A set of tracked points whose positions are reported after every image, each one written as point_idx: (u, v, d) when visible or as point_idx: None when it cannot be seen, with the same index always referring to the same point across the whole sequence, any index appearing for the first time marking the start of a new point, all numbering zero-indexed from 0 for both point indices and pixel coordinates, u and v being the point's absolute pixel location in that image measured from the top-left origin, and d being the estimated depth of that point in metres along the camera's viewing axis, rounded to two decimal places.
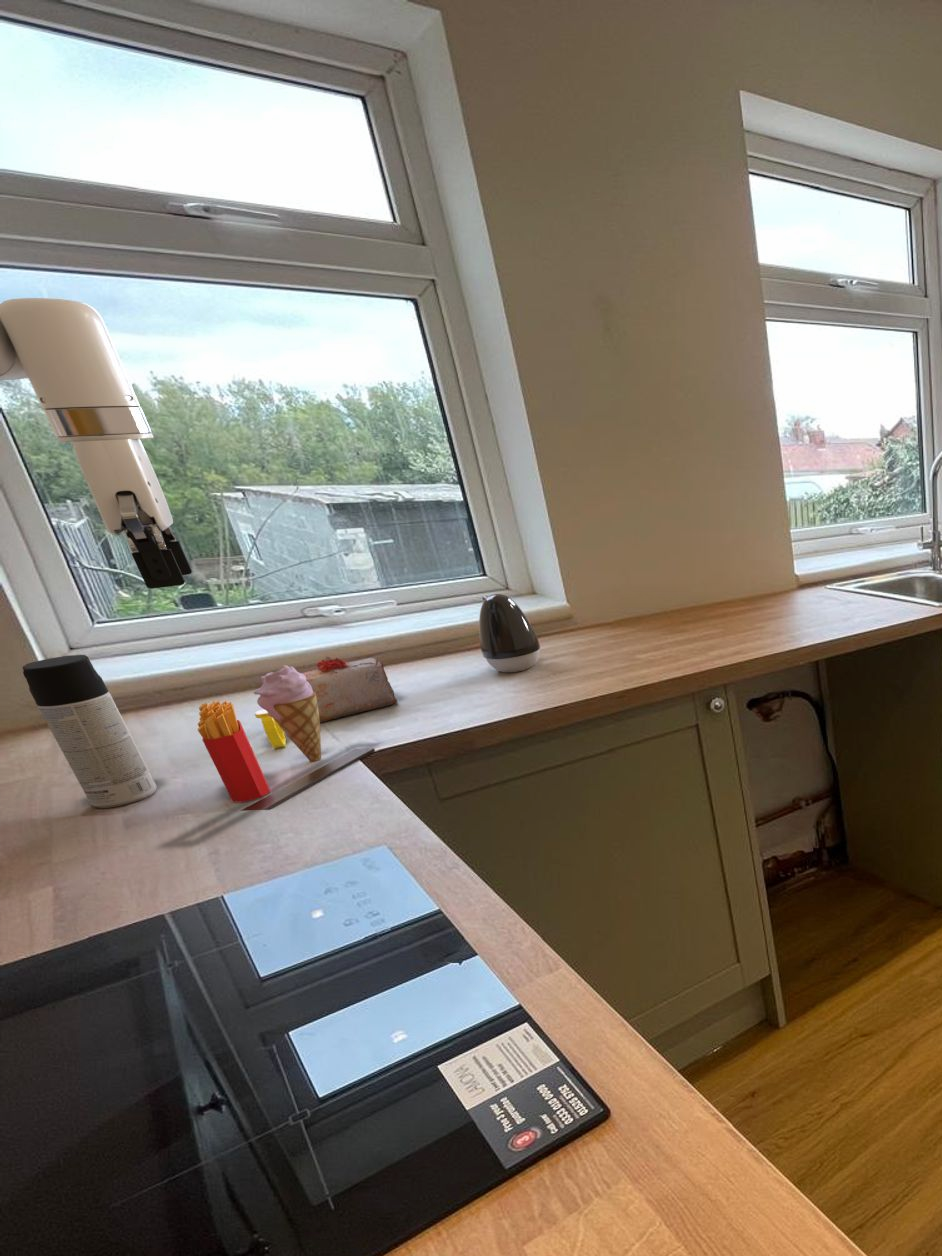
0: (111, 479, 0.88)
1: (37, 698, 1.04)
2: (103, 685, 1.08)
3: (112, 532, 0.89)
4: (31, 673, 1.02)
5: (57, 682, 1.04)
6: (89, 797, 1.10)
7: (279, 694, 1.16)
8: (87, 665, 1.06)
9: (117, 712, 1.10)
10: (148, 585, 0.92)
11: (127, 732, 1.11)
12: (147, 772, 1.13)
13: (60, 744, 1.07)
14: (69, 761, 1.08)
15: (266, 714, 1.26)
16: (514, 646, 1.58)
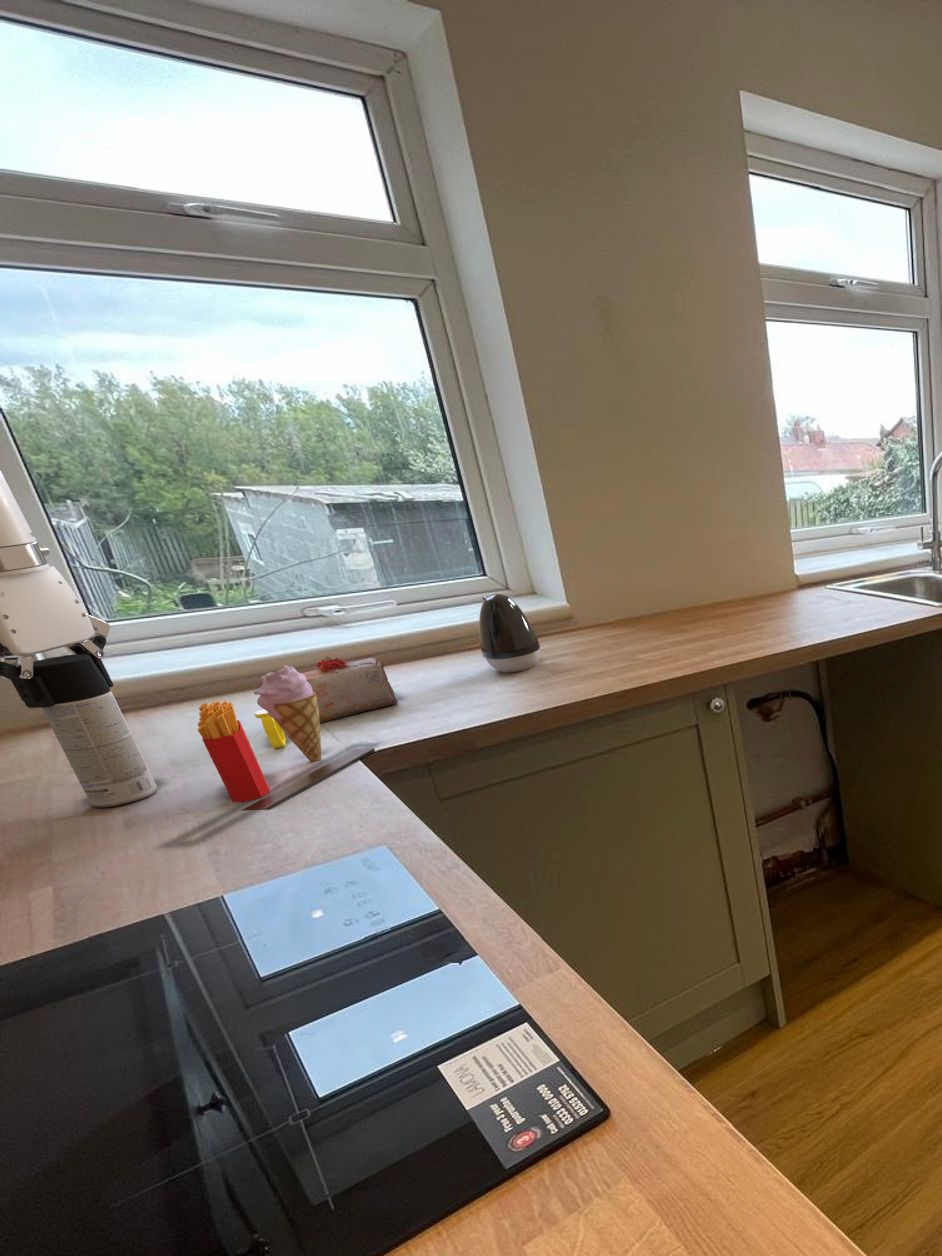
0: None
1: None
2: (105, 684, 1.09)
3: None
4: (34, 671, 1.03)
5: (59, 680, 1.04)
6: (89, 796, 1.10)
7: (279, 694, 1.16)
8: (90, 664, 1.06)
9: (119, 711, 1.10)
10: (27, 705, 1.04)
11: (128, 731, 1.11)
12: (147, 772, 1.13)
13: (61, 742, 1.07)
14: (70, 760, 1.08)
15: (266, 714, 1.26)
16: (514, 646, 1.58)
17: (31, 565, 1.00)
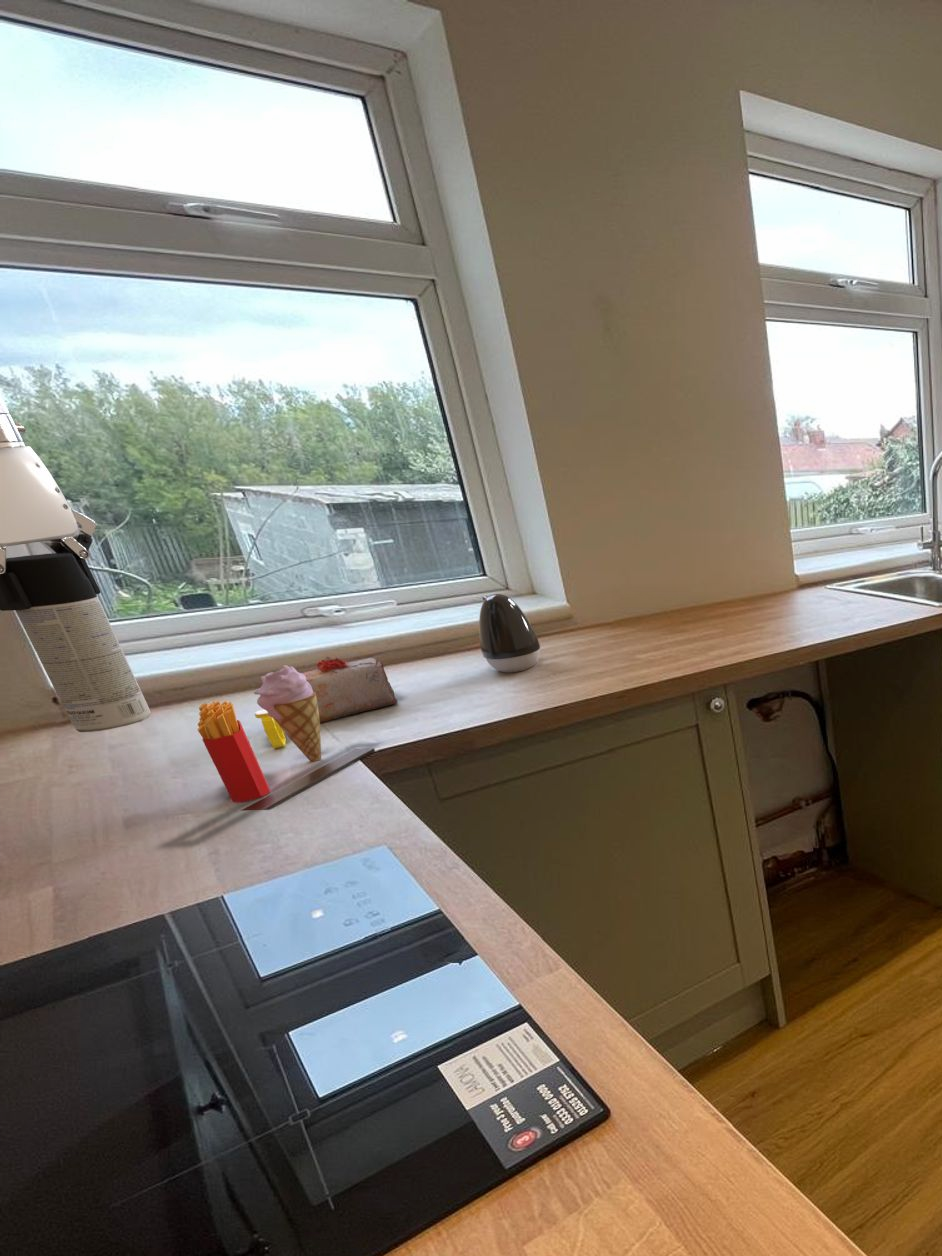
0: None
1: None
2: (91, 588, 0.94)
3: None
4: (7, 567, 0.88)
5: (37, 578, 0.89)
6: (72, 719, 0.95)
7: (279, 694, 1.16)
8: (73, 562, 0.92)
9: (107, 621, 0.95)
10: None
11: (118, 645, 0.96)
12: (140, 693, 0.99)
13: (39, 654, 0.92)
14: (49, 675, 0.93)
15: (266, 714, 1.26)
16: (514, 646, 1.58)
17: (3, 439, 0.86)
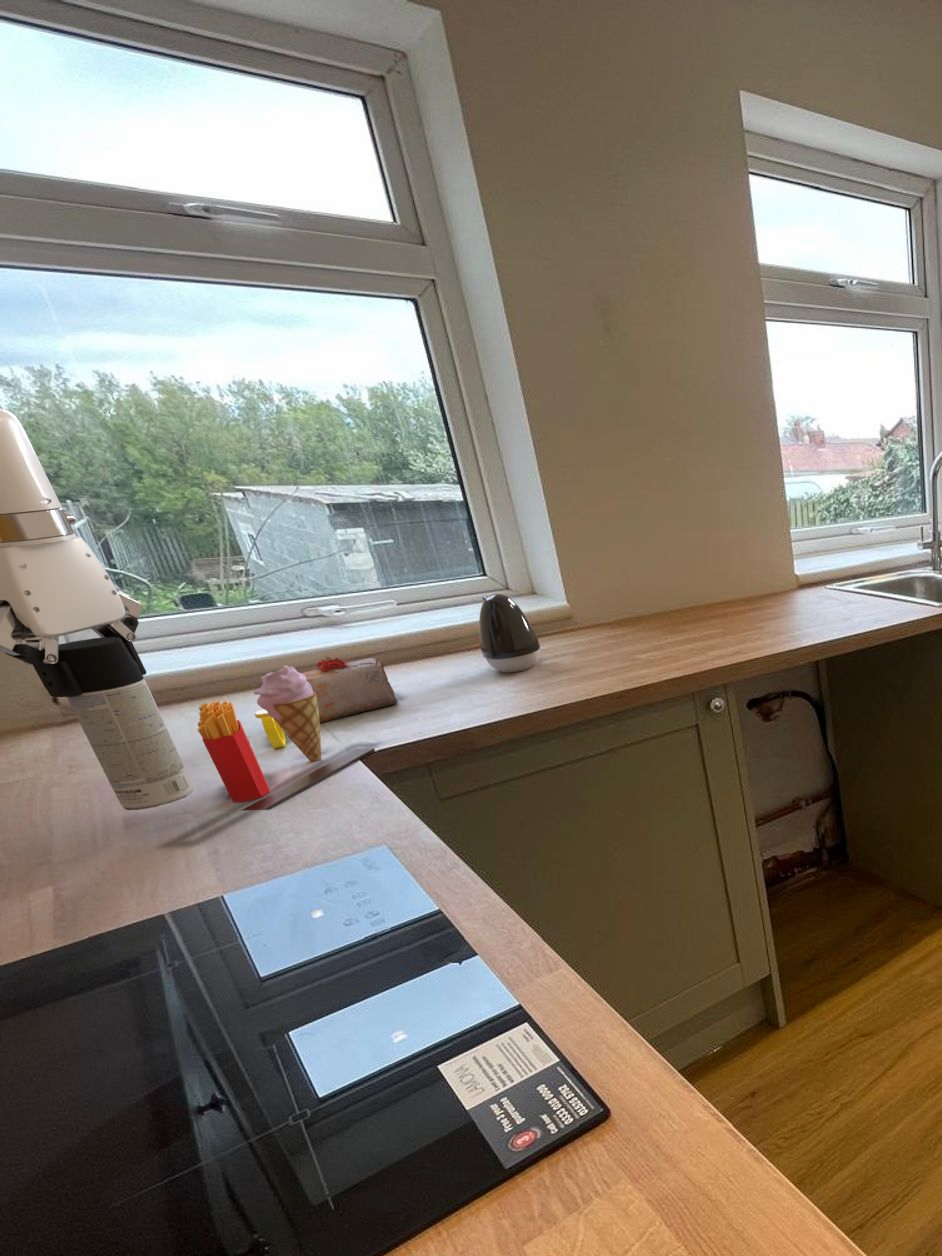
0: None
1: None
2: (138, 671, 0.96)
3: None
4: (60, 656, 0.90)
5: (87, 665, 0.91)
6: (119, 797, 0.97)
7: (279, 694, 1.16)
8: (121, 648, 0.94)
9: (153, 702, 0.98)
10: (51, 694, 0.91)
11: (163, 724, 0.99)
12: (184, 770, 1.01)
13: (89, 737, 0.94)
14: (98, 756, 0.95)
15: (266, 714, 1.26)
16: (514, 646, 1.58)
17: (56, 534, 0.88)
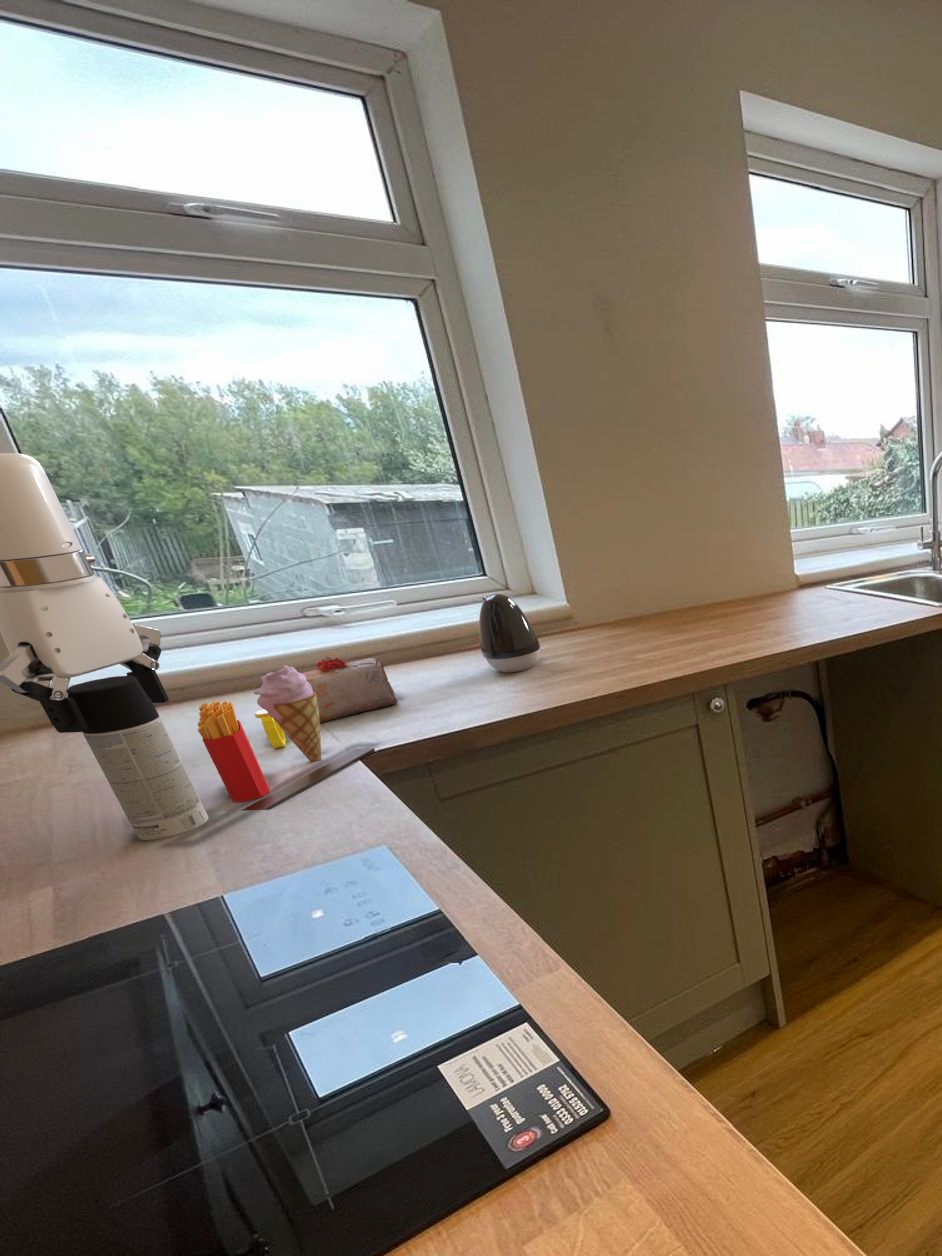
0: (13, 630, 0.87)
1: None
2: (154, 709, 0.98)
3: None
4: (77, 697, 0.92)
5: (104, 706, 0.93)
6: (138, 833, 0.99)
7: (279, 694, 1.16)
8: (137, 687, 0.95)
9: (168, 738, 0.99)
10: (57, 729, 0.92)
11: (179, 760, 1.00)
12: (200, 804, 1.03)
13: (107, 775, 0.96)
14: (116, 793, 0.97)
15: (266, 714, 1.26)
16: (514, 646, 1.58)
17: (77, 576, 0.90)
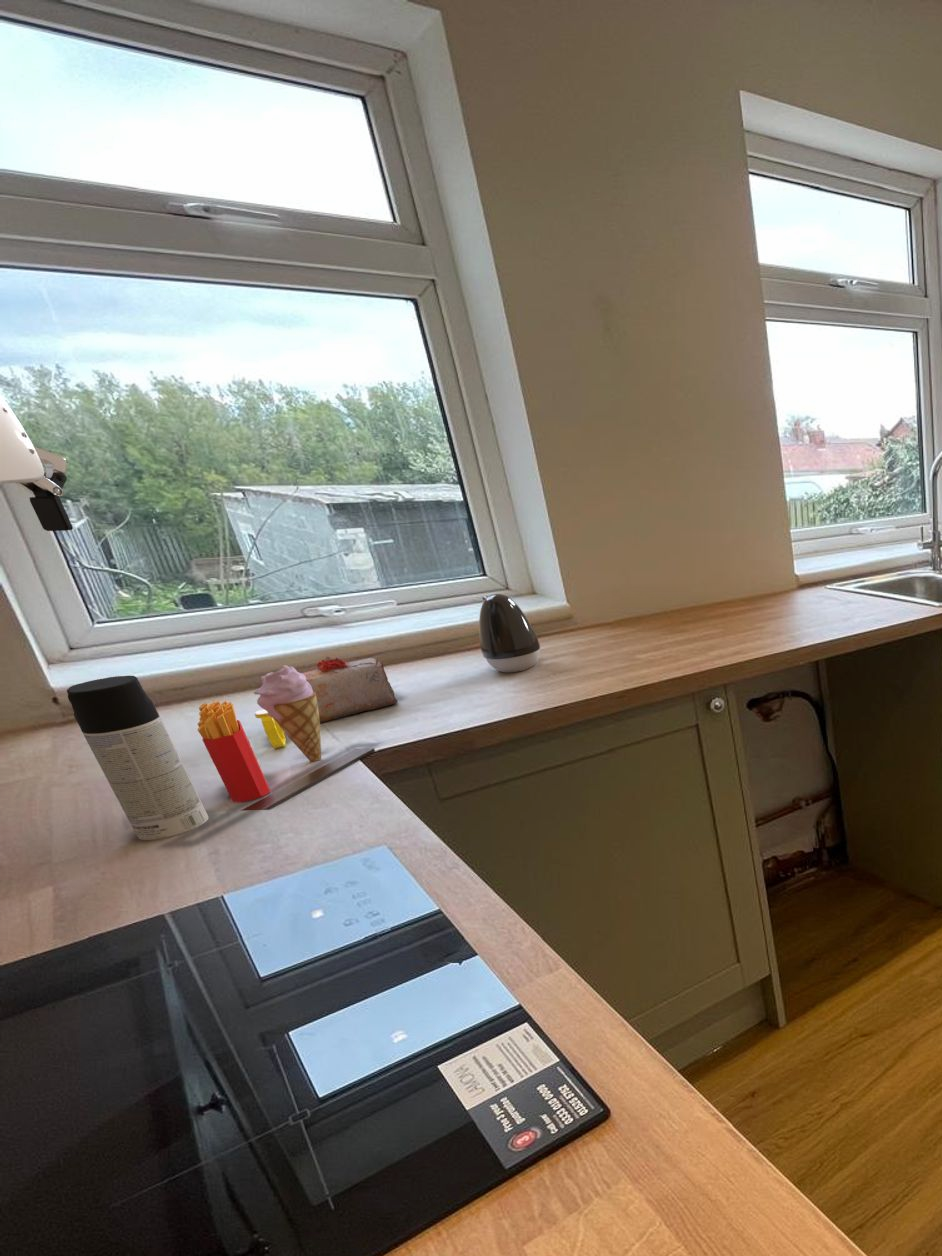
0: None
1: (83, 724, 0.93)
2: (154, 709, 0.98)
3: None
4: (77, 698, 0.92)
5: (105, 706, 0.93)
6: (138, 833, 0.99)
7: (279, 694, 1.16)
8: (137, 687, 0.95)
9: (168, 738, 0.99)
10: None
11: (179, 760, 1.00)
12: (200, 804, 1.03)
13: (107, 775, 0.96)
14: (116, 793, 0.97)
15: (266, 714, 1.26)
16: (514, 646, 1.58)
17: None
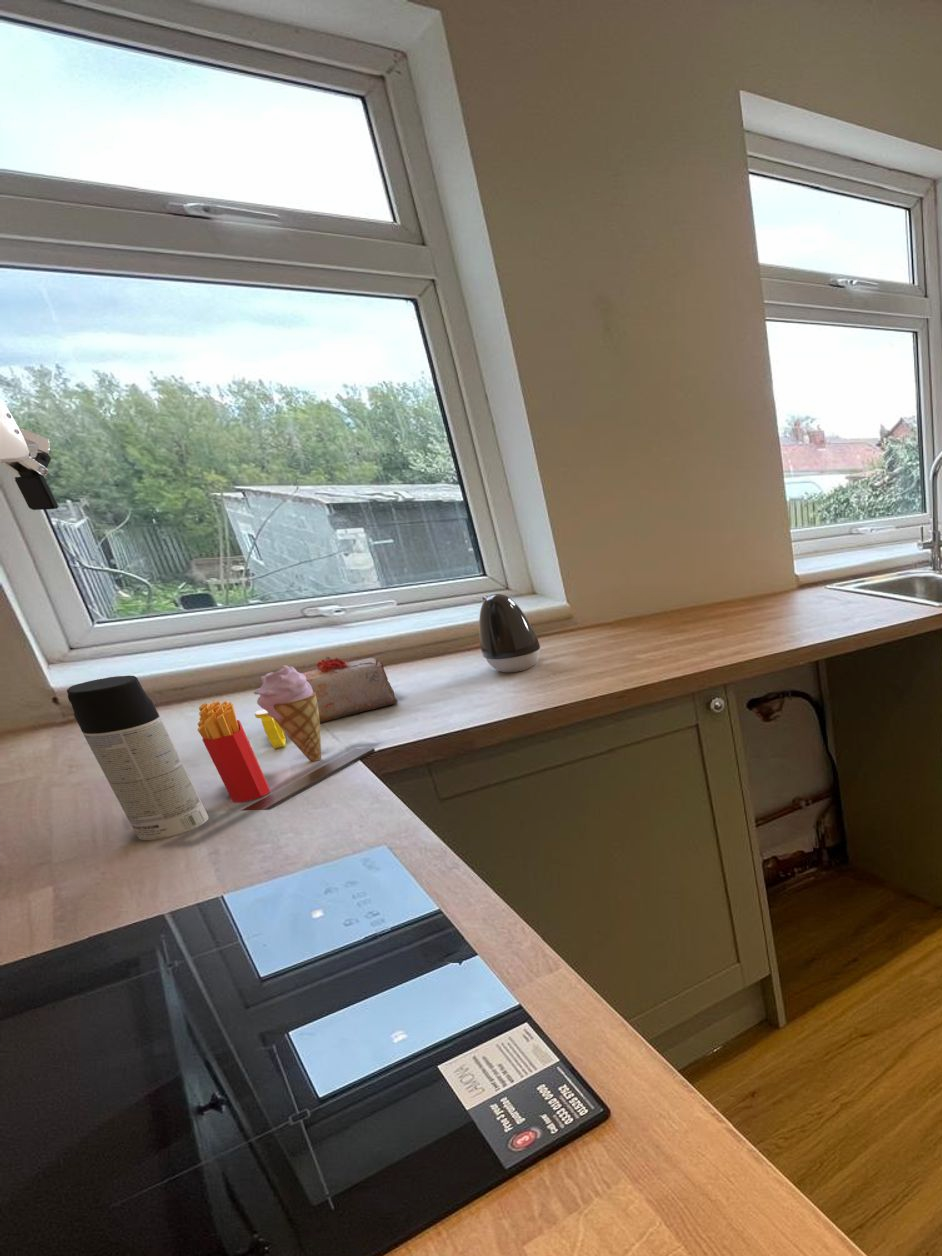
0: None
1: (83, 724, 0.93)
2: (154, 709, 0.98)
3: None
4: (77, 697, 0.92)
5: (105, 706, 0.93)
6: (138, 833, 0.99)
7: (279, 694, 1.16)
8: (137, 687, 0.95)
9: (168, 738, 0.99)
10: None
11: (179, 760, 1.00)
12: (200, 804, 1.03)
13: (107, 775, 0.96)
14: (116, 793, 0.97)
15: (266, 714, 1.26)
16: (514, 646, 1.58)
17: None
